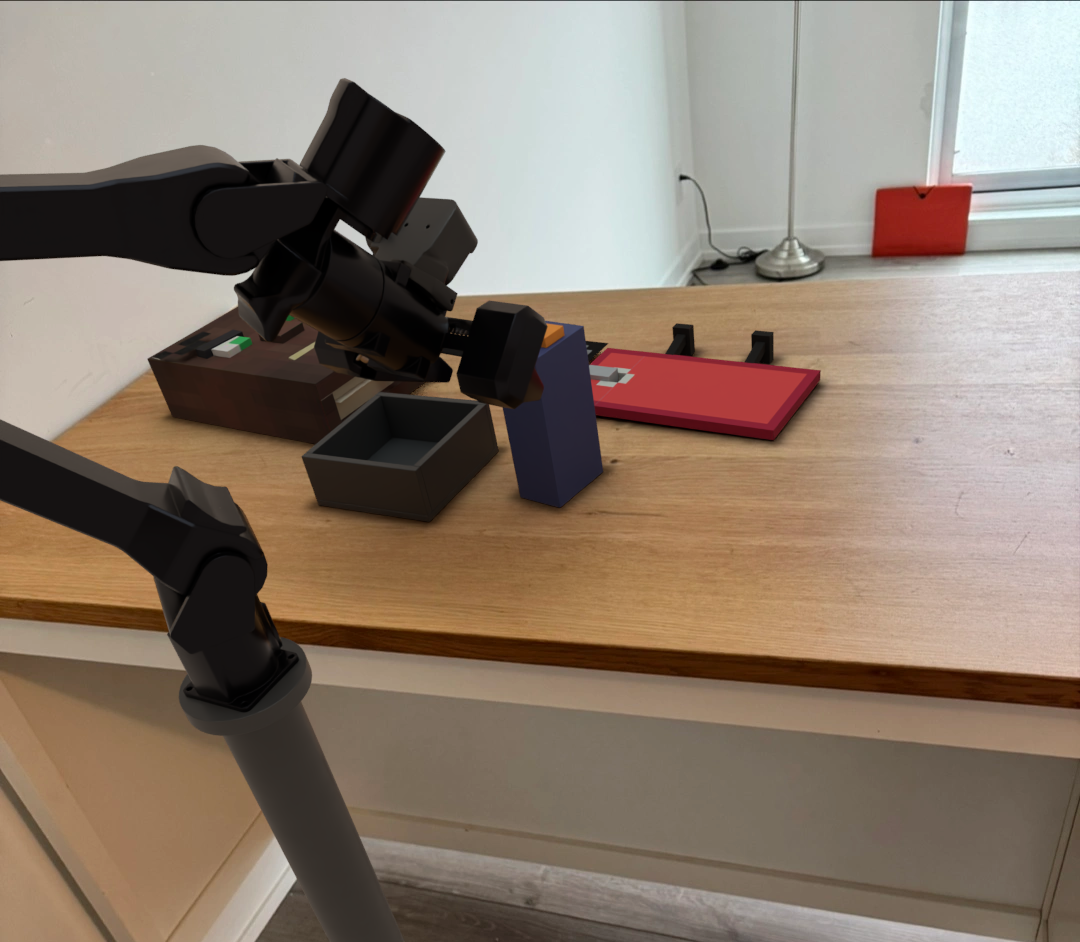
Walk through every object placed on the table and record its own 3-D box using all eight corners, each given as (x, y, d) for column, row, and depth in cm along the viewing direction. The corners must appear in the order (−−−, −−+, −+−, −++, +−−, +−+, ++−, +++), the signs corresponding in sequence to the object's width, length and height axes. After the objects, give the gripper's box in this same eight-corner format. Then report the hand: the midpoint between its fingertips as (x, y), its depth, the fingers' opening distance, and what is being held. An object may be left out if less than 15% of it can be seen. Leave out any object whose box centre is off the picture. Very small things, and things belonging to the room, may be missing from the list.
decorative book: (322, 383, 94) (121, 354, 109) (346, 457, 99) (150, 419, 114) (445, 300, 105) (246, 283, 120) (460, 370, 110) (268, 345, 125)
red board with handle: (565, 338, 111) (491, 404, 103) (561, 313, 109) (485, 378, 101) (834, 366, 97) (773, 445, 88) (835, 337, 95) (773, 415, 87)
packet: (560, 508, 86) (533, 349, 77) (520, 497, 88) (489, 342, 79) (603, 471, 89) (582, 315, 80) (563, 462, 92) (539, 309, 82)
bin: (429, 522, 88) (415, 470, 84) (318, 505, 93) (300, 456, 90) (499, 451, 95) (488, 401, 92) (392, 439, 101) (378, 391, 97)
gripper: (500, 174, 59) (628, 291, 72) (292, 165, 69) (437, 269, 82) (442, 363, 60) (578, 445, 73) (246, 327, 70) (396, 404, 83)
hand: (493, 384), depth 78 cm, fingers open, 9 cm apart
